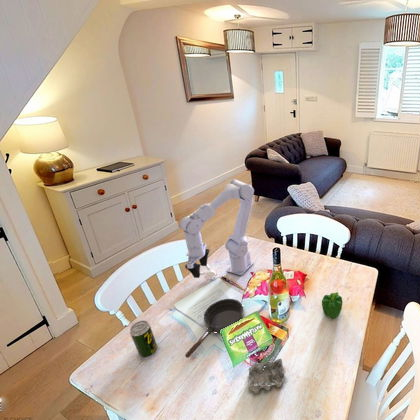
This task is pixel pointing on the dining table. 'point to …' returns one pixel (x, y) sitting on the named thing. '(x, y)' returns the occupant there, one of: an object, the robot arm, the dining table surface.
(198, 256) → the robot arm
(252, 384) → the egg carton
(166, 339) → the dining table surface
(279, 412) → the dining table surface
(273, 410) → the dining table surface
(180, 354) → the dining table surface
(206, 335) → the pan handle
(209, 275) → the rabbit figurine
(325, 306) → the bell pepper
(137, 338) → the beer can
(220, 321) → the pan
